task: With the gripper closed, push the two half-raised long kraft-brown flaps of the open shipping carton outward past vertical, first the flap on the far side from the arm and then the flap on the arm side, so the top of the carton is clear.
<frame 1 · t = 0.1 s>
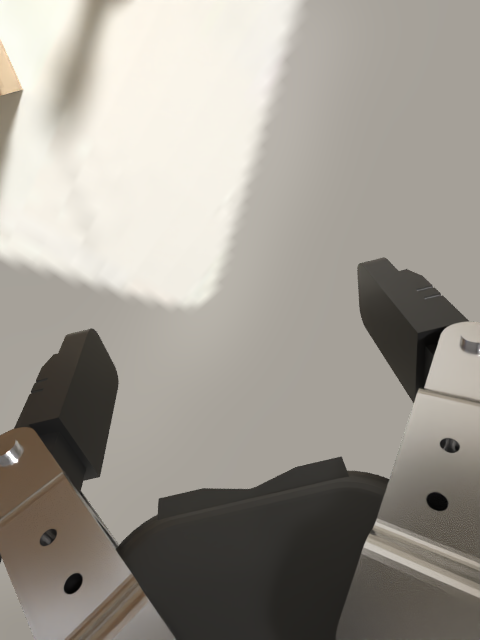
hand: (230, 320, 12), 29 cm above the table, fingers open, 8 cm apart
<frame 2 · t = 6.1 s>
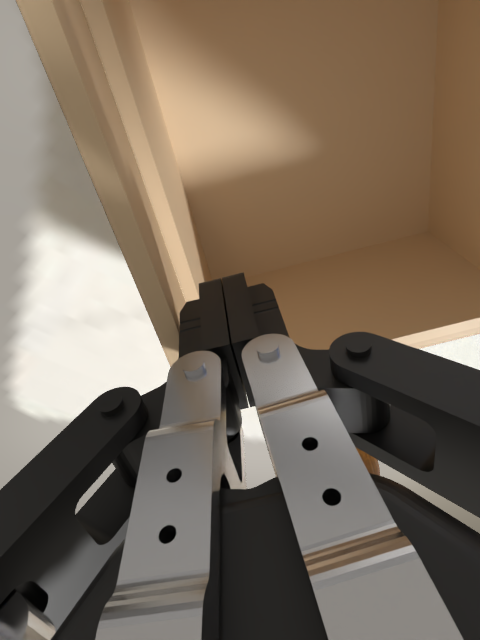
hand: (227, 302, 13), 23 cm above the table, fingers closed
carton: (302, 128, 32), on the table
outer flap: (161, 273, 16), point 19 cm above the table, hinge at 83.4°, touching gripper
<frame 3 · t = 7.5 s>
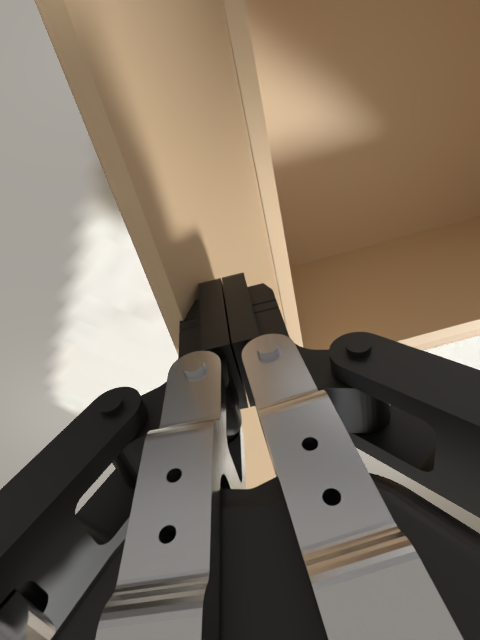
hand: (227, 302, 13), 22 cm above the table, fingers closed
carton: (365, 110, 32), on the table
outer flap: (228, 258, 16), point 19 cm above the table, hinge at 112.8°, touching gripper
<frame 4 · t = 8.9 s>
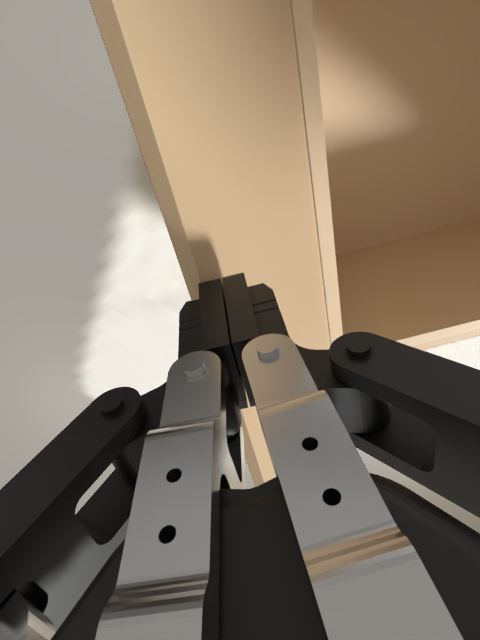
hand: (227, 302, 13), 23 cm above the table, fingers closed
carton: (401, 102, 32), on the table
outer flap: (265, 239, 17), point 18 cm above the table, hinge at 123.9°, touching gripper
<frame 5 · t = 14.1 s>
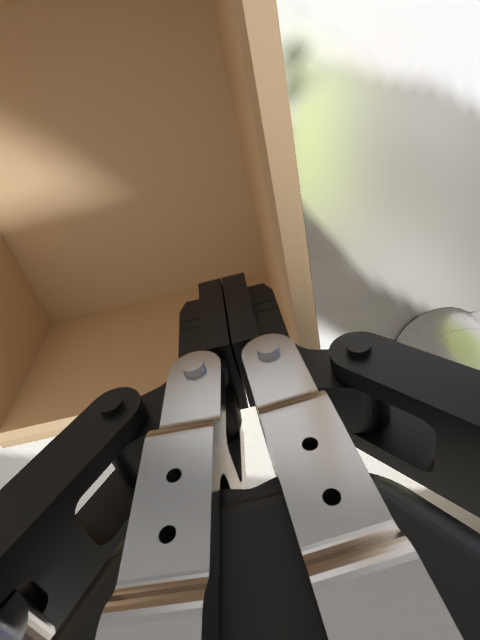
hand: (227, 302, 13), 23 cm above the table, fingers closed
carton: (113, 174, 32), on the table
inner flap: (295, 239, 16), point 19 cm above the table, hinge at 81.0°, touching gripper
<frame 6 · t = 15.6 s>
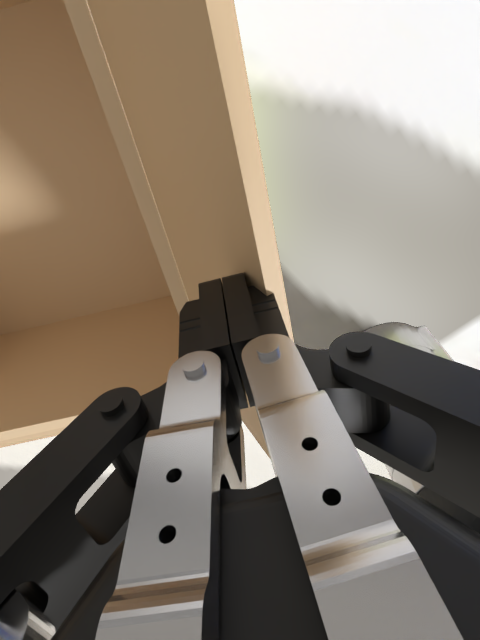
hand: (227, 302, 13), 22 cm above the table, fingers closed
carton: (42, 193, 32), on the table
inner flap: (210, 256, 16), point 19 cm above the table, hinge at 112.6°, touching gripper
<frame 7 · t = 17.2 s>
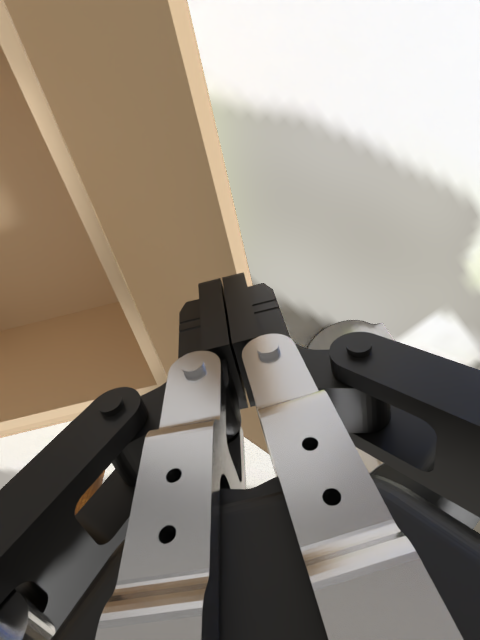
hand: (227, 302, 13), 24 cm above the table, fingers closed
carton: (3, 201, 34), on the table
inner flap: (163, 247, 18), point 18 cm above the table, hinge at 127.7°
hand bell: (110, 406, 48), on the table
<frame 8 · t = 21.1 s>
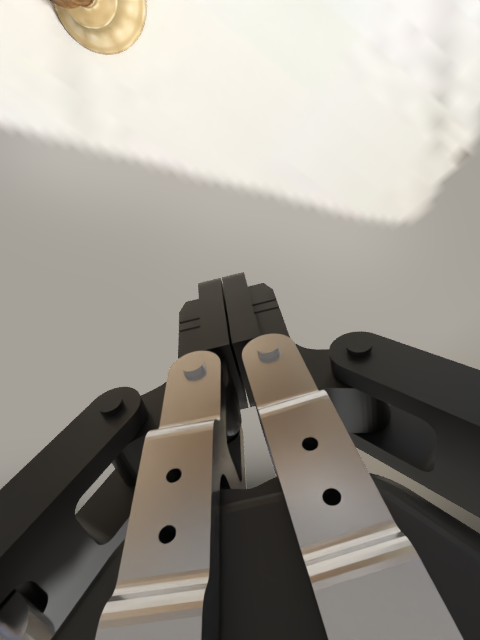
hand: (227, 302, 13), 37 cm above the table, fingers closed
hand bell: (100, 0, 37), on the table
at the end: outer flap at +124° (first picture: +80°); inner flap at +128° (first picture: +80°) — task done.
